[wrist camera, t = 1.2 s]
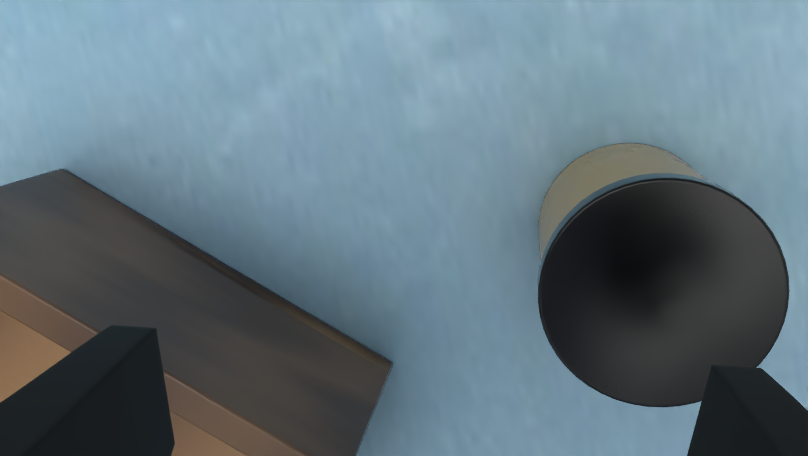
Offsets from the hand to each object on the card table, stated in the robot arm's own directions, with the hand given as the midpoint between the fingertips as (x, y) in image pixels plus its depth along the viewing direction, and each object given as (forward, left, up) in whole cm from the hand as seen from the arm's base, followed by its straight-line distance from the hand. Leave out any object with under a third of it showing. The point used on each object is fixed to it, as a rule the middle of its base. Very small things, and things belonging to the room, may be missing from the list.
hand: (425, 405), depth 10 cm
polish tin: (-4, -1, -11) cm, 11 cm away
